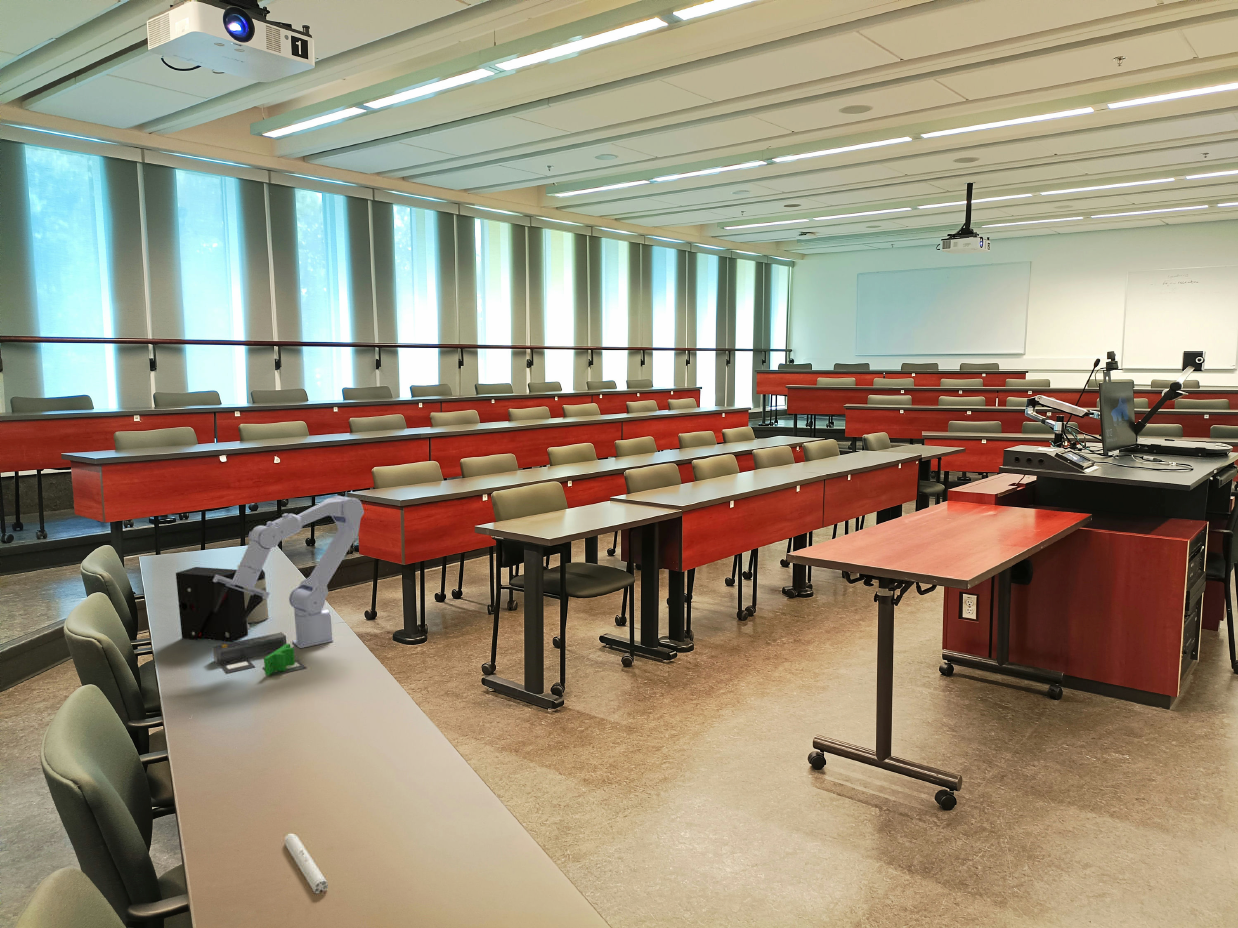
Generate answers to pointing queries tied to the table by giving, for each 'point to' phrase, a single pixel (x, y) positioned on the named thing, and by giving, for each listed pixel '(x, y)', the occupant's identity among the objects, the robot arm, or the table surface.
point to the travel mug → (262, 609)
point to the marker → (306, 863)
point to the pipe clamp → (279, 659)
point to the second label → (290, 668)
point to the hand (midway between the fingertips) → (228, 616)
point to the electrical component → (209, 606)
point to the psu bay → (248, 648)
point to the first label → (237, 666)
